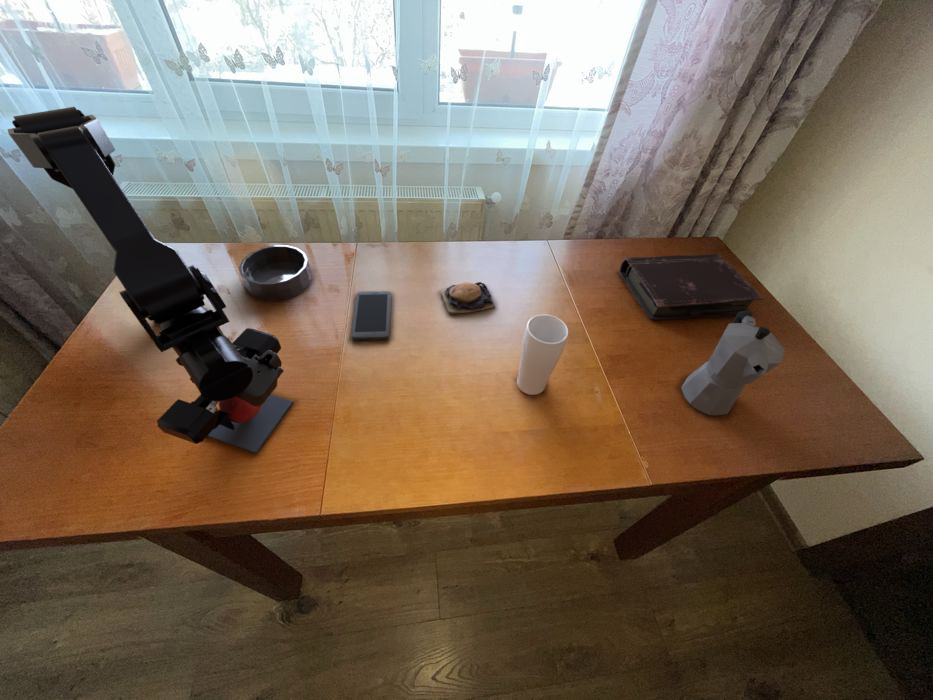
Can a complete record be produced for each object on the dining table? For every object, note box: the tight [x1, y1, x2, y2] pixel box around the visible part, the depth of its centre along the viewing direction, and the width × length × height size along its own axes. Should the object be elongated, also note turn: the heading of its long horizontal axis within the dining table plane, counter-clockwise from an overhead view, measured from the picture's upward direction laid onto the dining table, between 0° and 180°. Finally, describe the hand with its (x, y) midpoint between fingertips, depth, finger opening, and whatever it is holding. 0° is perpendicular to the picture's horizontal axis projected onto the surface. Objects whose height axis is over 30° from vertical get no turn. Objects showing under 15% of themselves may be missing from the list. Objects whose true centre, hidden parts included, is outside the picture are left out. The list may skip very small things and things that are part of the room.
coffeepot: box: [680, 309, 786, 417], centre depth 69 cm, size 15×9×18 cm, turn 162°
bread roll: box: [440, 281, 495, 315], centre depth 87 cm, size 11×8×4 cm
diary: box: [618, 253, 763, 321], centre depth 93 cm, size 19×25×5 cm
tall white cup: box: [516, 313, 569, 396], centre depth 69 cm, size 7×7×15 cm
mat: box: [207, 393, 294, 454], centre depth 66 cm, size 10×10×1 cm
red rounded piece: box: [218, 396, 261, 423], centre depth 63 cm, size 6×6×8 cm
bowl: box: [238, 244, 313, 302], centre depth 87 cm, size 14×14×4 cm
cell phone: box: [351, 290, 392, 341], centre depth 83 cm, size 7×14×1 cm, turn 5°
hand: (245, 411), depth 65 cm, fingers open, 6 cm apart
